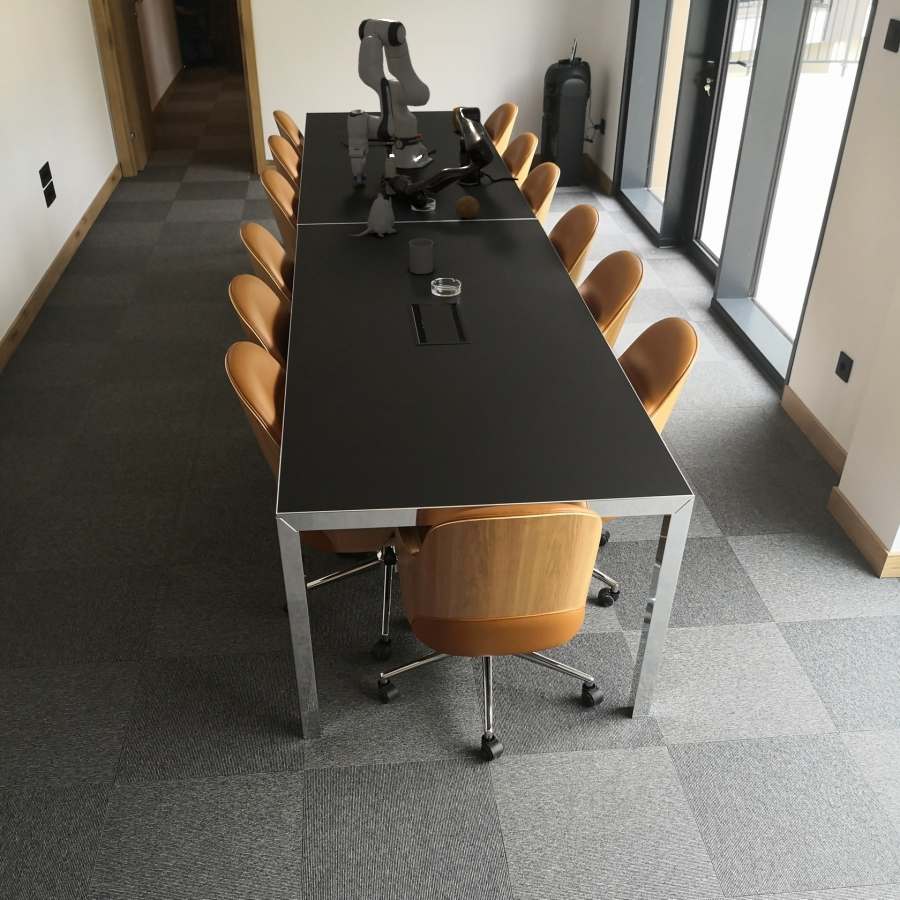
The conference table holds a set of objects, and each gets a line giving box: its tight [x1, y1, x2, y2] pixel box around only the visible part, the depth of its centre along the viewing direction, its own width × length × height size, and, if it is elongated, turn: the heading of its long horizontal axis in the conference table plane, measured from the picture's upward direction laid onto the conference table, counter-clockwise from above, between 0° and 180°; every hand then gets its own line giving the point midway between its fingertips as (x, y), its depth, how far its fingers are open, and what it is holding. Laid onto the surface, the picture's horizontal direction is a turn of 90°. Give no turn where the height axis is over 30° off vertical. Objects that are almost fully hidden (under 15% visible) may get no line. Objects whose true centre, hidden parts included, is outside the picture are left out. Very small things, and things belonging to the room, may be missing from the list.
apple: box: [451, 105, 464, 132], centre depth 487 cm, size 11×11×13 cm
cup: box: [408, 237, 434, 275], centre depth 305 cm, size 8×8×10 cm
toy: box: [349, 192, 397, 238], centre depth 334 cm, size 9×24×15 cm, turn 137°
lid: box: [353, 172, 367, 182], centre depth 398 cm, size 6×6×2 cm
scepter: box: [339, 131, 394, 148], centre depth 461 cm, size 6×13×30 cm
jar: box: [384, 156, 397, 195], centre depth 384 cm, size 5×5×15 cm
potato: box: [456, 195, 481, 219], centre depth 357 cm, size 10×14×8 cm
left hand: (360, 179), depth 398 cm, fingers closed on lid, 5 cm apart
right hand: (388, 176), depth 387 cm, fingers closed on jar, 4 cm apart
